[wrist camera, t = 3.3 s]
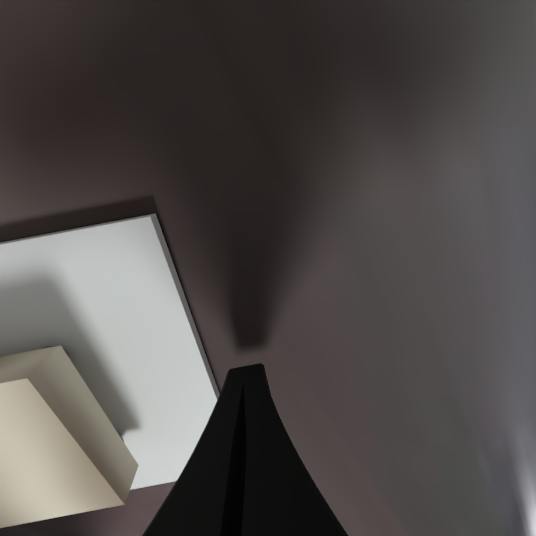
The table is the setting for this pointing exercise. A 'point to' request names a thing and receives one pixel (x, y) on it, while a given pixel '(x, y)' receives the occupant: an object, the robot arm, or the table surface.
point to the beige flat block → (55, 442)
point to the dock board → (115, 332)
